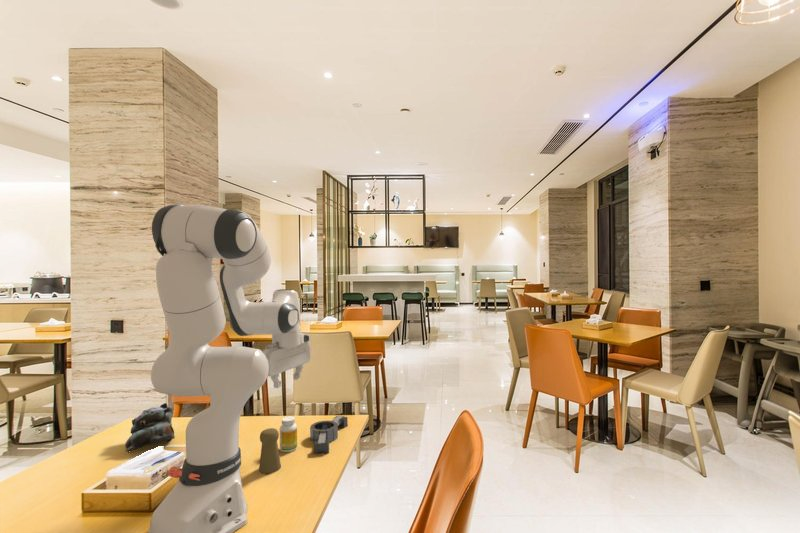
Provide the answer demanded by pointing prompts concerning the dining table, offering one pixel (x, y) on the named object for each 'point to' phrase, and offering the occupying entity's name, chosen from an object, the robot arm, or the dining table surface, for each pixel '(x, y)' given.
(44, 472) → the dining table surface
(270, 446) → the olive pawn figure
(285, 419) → the supplement bottle
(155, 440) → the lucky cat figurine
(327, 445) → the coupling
